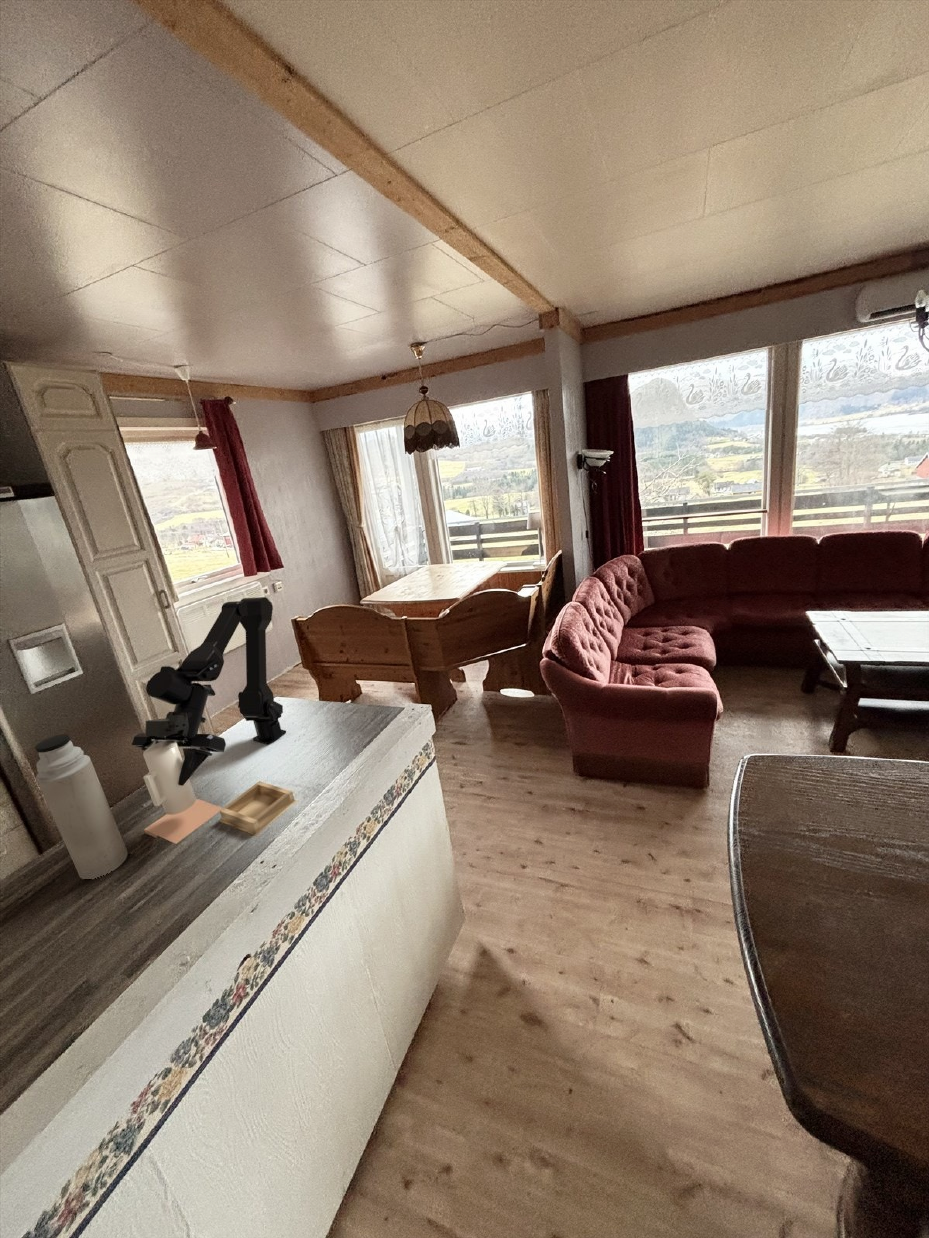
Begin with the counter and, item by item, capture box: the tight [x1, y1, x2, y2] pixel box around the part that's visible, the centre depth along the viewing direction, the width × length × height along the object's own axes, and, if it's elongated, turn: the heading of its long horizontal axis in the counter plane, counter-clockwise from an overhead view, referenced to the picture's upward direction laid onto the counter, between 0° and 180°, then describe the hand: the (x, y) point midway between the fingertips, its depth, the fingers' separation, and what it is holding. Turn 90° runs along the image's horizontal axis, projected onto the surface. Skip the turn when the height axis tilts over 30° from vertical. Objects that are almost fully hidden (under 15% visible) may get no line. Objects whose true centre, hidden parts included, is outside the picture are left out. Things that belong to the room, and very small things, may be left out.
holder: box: [219, 780, 298, 836], centre depth 106 cm, size 11×11×4 cm
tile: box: [144, 798, 224, 845], centre depth 106 cm, size 11×11×1 cm
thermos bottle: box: [35, 733, 128, 880], centre depth 93 cm, size 8×8×28 cm
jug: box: [142, 740, 196, 815], centre depth 102 cm, size 8×6×14 cm
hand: (167, 784), depth 102 cm, fingers closed on jug, 6 cm apart
